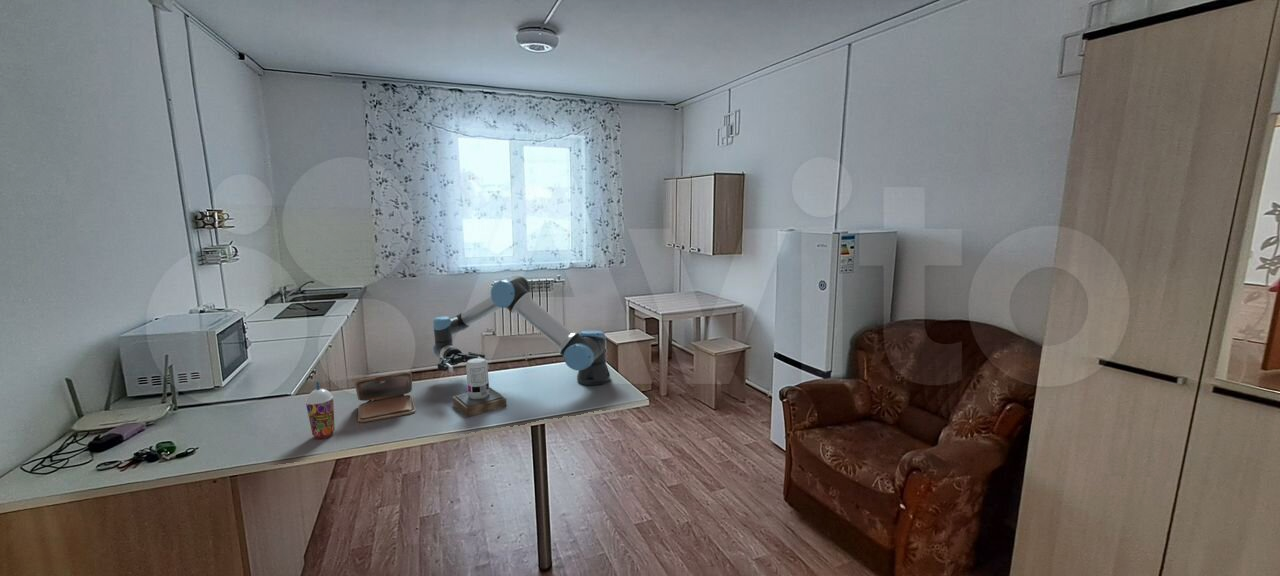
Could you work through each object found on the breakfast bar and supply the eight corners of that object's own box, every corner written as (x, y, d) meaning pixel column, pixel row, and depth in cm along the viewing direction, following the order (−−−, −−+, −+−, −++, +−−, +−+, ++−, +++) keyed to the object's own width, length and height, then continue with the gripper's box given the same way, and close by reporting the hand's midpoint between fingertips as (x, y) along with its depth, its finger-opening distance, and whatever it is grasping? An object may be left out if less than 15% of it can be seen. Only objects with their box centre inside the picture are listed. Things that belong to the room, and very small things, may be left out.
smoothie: (317, 442, 174) (310, 387, 171) (305, 437, 179) (298, 383, 175) (342, 433, 181) (336, 380, 178) (330, 428, 186) (323, 376, 182)
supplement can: (464, 398, 202) (461, 362, 200) (477, 391, 210) (475, 356, 207) (480, 401, 199) (477, 364, 197) (493, 393, 207) (491, 358, 204)
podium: (490, 395, 216) (490, 386, 215) (506, 406, 204) (505, 397, 203) (453, 404, 206) (452, 395, 206) (467, 417, 194) (466, 407, 193)
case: (413, 396, 217) (409, 360, 214) (416, 413, 198) (412, 374, 196) (358, 406, 207) (354, 368, 205) (357, 425, 189) (352, 384, 186)
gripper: (479, 357, 235) (497, 368, 218) (423, 369, 219) (438, 381, 203) (478, 342, 234) (496, 352, 217) (421, 352, 218) (437, 364, 202)
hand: (468, 366), depth 210 cm, fingers open, 13 cm apart
